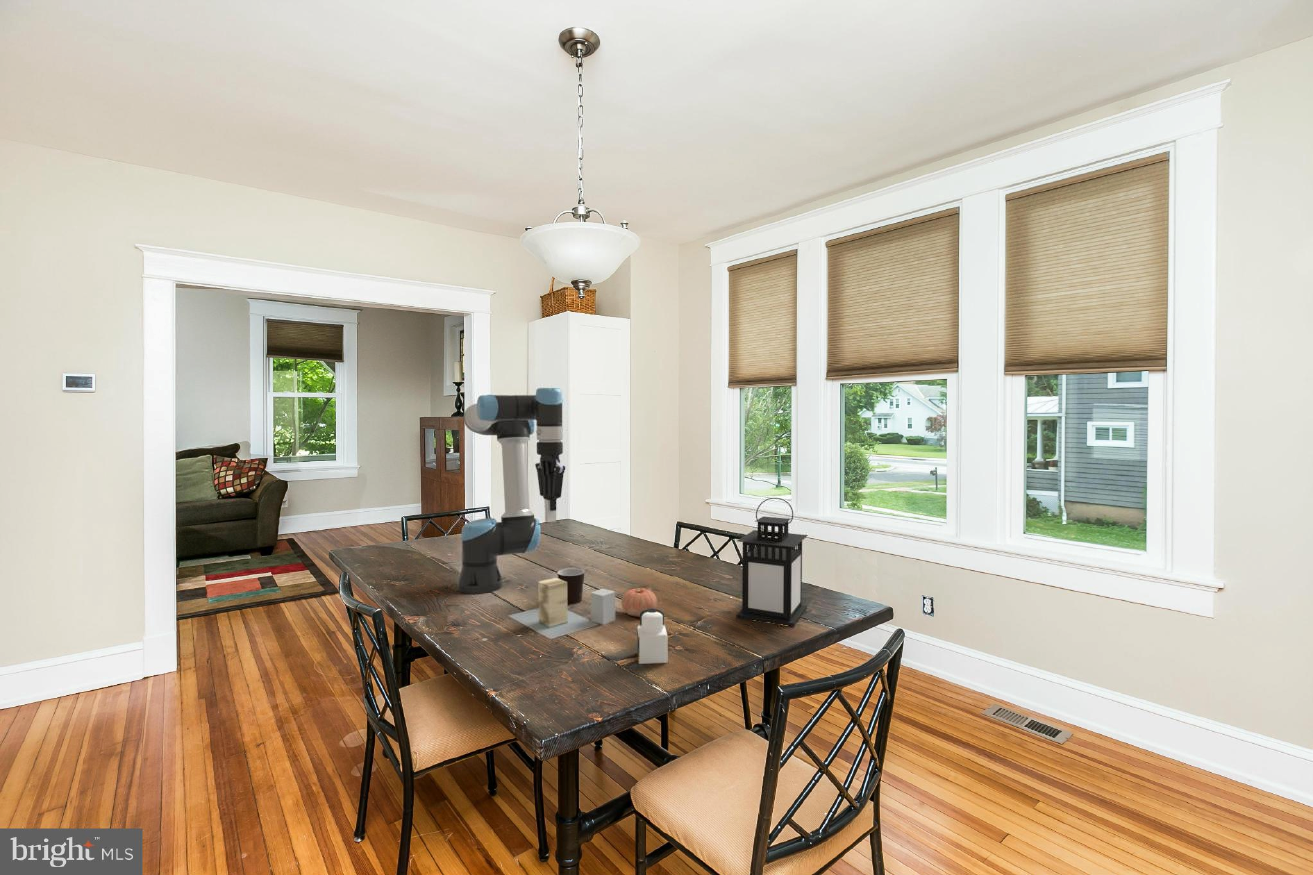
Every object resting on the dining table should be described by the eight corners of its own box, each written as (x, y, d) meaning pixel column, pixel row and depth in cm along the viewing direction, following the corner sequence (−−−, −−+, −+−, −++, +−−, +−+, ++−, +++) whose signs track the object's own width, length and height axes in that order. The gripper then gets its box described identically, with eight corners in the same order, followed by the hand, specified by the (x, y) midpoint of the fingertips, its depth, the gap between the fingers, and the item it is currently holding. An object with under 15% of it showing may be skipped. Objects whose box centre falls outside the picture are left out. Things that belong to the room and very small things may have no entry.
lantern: (736, 618, 181) (736, 501, 179) (753, 601, 197) (754, 493, 195) (793, 627, 174) (795, 505, 172) (807, 608, 189) (808, 497, 187)
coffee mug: (579, 607, 191) (579, 576, 190) (553, 606, 192) (553, 574, 192) (591, 596, 202) (590, 566, 201) (566, 594, 204) (566, 565, 203)
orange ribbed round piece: (640, 606, 192) (640, 581, 192) (664, 614, 184) (664, 588, 184) (614, 614, 184) (613, 588, 184) (638, 624, 177) (638, 596, 176)
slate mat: (508, 617, 182) (508, 615, 182) (554, 605, 193) (554, 604, 193) (550, 641, 164) (550, 638, 164) (598, 626, 175) (598, 624, 175)
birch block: (538, 622, 176) (538, 581, 176) (556, 617, 180) (556, 577, 180) (549, 628, 172) (549, 586, 171) (567, 623, 176) (567, 582, 175)
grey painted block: (591, 622, 178) (590, 592, 177) (603, 618, 182) (602, 588, 181) (603, 626, 175) (603, 595, 174) (615, 621, 178) (615, 591, 178)
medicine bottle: (637, 652, 156) (637, 606, 156) (664, 651, 157) (664, 605, 156) (638, 664, 149) (638, 616, 149) (667, 663, 150) (667, 615, 149)
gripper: (526, 440, 180) (527, 519, 181) (550, 442, 170) (551, 526, 171) (548, 439, 185) (549, 516, 186) (573, 441, 175) (574, 522, 176)
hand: (550, 521), depth 179 cm, fingers closed
